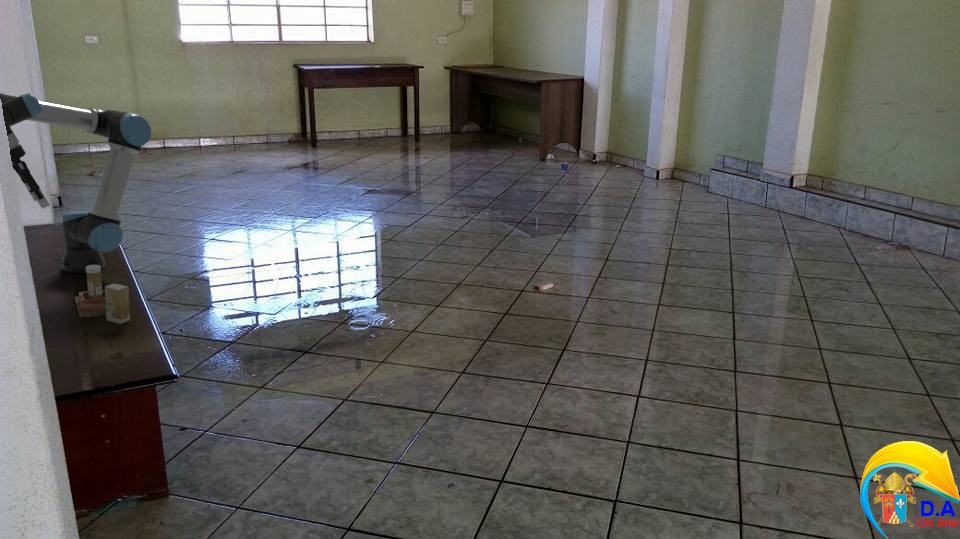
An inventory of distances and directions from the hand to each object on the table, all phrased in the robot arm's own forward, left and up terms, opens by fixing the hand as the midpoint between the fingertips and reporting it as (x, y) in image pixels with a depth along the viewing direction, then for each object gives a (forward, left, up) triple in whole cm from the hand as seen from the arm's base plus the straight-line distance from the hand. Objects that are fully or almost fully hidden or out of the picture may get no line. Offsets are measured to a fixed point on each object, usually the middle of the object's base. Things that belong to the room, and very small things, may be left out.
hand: (42, 203), depth 260 cm
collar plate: (+18, +20, -33) cm, 42 cm away
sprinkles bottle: (+18, +20, -31) cm, 41 cm away
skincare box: (+31, +30, -33) cm, 54 cm away
